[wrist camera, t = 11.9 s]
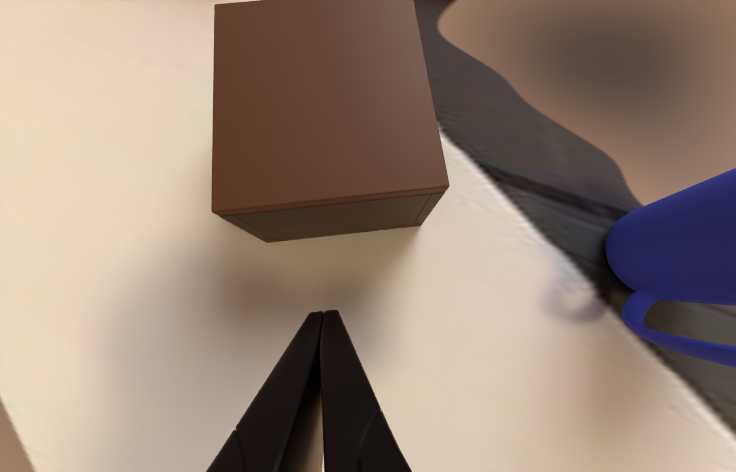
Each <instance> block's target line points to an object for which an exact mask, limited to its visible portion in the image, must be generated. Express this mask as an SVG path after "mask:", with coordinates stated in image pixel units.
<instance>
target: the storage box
mask: <svg viewBox="0 0 736 472" xmlns="http://www.w3.org/2000/svg"><path fill="white" fill-rule="evenodd" d="M444 193H445V192H437V193H428V194H418V195H409V196H400V197H391V198H381V199H372V200H363V201H354V202H344V203H335V204H326V205H317V206H307V207H298V208H289V209H280V210H270V211H261V212H252V213H243V214H233V215H224V216H220V217H221V218H223V219H225V220H227V221H228V222H230V223H232V224H234V225H236V226H238V227H239V228H241V229H243V230H245V231H247V232H248V233H250V234H252V235H254V236H256V237H257V238H259V239H261V240H263V241H265V242H267V243H269V242H278V241H287V240H296V239H305V238H314V237H323V236H332V235H341V234H350V233H359V232H368V231H377V230H386V229H395V228H404V227H413V226H421V225H422V223H423V222H424V220H425V219H426V218H427V216H428V215H429V214H430V212H431V211H432V209H433V208H434V207H435V205H436V204H437V203H438V201H439V200H440V199H441V197H442V196H443V194H444Z"/></svg>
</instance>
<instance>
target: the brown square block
mask: <svg viewBox="0 0 736 472" xmlns="http://www.w3.org/2000/svg"><path fill="white" fill-rule="evenodd" d="M448 187H449V181H448V176H447V171H446V166H445V160H444V155H443V150H442V145H441V140H440V135H439V130H438V125H437V119H436V114H435V109H434V104H433V99H432V94H431V89H430V84H429V78H428V73H427V68H426V63H425V58H424V53H423V48H422V43H421V37H420V32H419V27H418V22H417V17H416V12H415V7H414V1H413V0H260V1H249V2H237V3H226V4H216V5H215V16H214V81H213V146H212V212H213V213H215V214H216V215H218V216H224V215H233V214H243V213H252V212H261V211H270V210H280V209H289V208H298V207H307V206H317V205H326V204H335V203H344V202H354V201H363V200H372V199H381V198H391V197H400V196H409V195H418V194H428V193H437V192H445V191H446V190H447V189H448Z"/></svg>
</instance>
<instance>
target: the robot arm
mask: <svg viewBox="0 0 736 472" xmlns="http://www.w3.org/2000/svg"><path fill="white" fill-rule="evenodd" d="M323 451H324V471H325V472H412V471H411V469H410V467H409V465H408V463H407V462H406V460H405V458H404V456H403V454H402V453H401V451H400V449H399V447H398V445H397V443H396V440H395V438H394V436H393V434H392V432H391V430H390V428H389V426H388V423H387V421H386V419H385V416H384V414H383V412H382V411H381V408H380V405H379V403H378V401H377V398H376V396H375V394H374V392H373V389H372V387H371V385H370V382H369V380H368V378H367V376H366V373H365V371H364V369H363V366H362V364H361V362H360V360H359V357H358V355H357V353H356V350H355V348H354V346H353V344H352V341H351V339H350V337H349V334H348V332H347V330H346V328H345V325H344V323H343V321H342V318H341V316H340V314H339V312H338V310H336V309H335V310H327V311H325V312H323V311H318V312H311V313H310V314H309V315H308V316H307V318H306V319H305V321H304V322H303V324H302V326H301V327H300V329H299V330H298V332H297V333H296V335H295V336H294V338H293V339H292V341H291V343H290V344H289V346H288V347H287V349H286V350H285V352H284V353H283V355H282V356H281V358H280V360H279V361H278V363H277V364H276V366H275V367H274V369H273V370H272V372H271V373H270V375H269V377H268V378H267V380H266V381H265V383H264V384H263V386H262V387H261V389H260V390H259V392H258V394H257V395H256V397H255V398H254V400H253V401H252V403H251V404H250V406H249V407H248V409H247V411H246V412H245V414H244V415H243V417H242V418H241V420H240V421H239V423H238V424H237V426H236V430H234V431H233V432H232V433H231V435H230V437H229V438H228V440H227V441H226V443H225V444H224V446H223V447H222V449H221V450H220V452H219V453H218V455H217V456H216V458H215V459H214V461H213V462H212V464H211V465H210V467H209V468H208V470H207V471H206V472H321V471H322V461H323Z"/></svg>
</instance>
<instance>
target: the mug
mask: <svg viewBox="0 0 736 472" xmlns="http://www.w3.org/2000/svg"><path fill="white" fill-rule="evenodd" d="M605 250H606V256H607V260H608V262H609V265H610V267H611V269H612V270H613V272H614V273H615V274H616V276H617V277H618V278H619V279H620V280H621V281H622V282H623V283H624V284H626V285H627V286H628V287H630V288H631V289H633V290H635V291H636V292H635V293H633V294H632V295H631V296H630V297H629V298H628V300H627V301H626V302H625V304H624V306H623V309H622V319H623V321H624V324H625V325H626V326H627V327H628V328H629V329H630V330H632V331H633V332H634V333H636V334H637V335H639V336H640V337H642V338H644V339H645V340H648V341H650V342H652V343H654V344H656V345H659V346H661V347H664V348H667V349H670V350H673V351H676V352H679V353H683V354H686V355H689V356H693V357H697V358H700V359H704V360H708V361H712V362H716V363H720V364H724V365H728V366H732V367H736V346H729V345H722V344H716V343H710V342H705V341H699V340H694V339H689V338H684V337H679V336H675V335H670V334H666V333H663V332H659V331H655V330H652V329H650V328H647V327H645V326H644V324H643V318H644V315H645V313H646V311H647V310H648V309H649V307H650V306H651V305H652V304H654V303H655V302H657V301H660V300H672V301H684V302H697V303H709V304H722V305H734V306H736V168H735V169H732V170H730V171H727V172H725V173H723V174H720V175H718V176H715V177H713V178H711V179H708V180H706V181H704V182H701V183H699V184H696V185H694V186H692V187H689V188H687V189H684V190H682V191H680V192H677V193H675V194H672V195H670V196H668V197H665V198H663V199H660V200H658V201H656V202H653V203H651V204H648V205H646V206H644V207H641V208H639V209H636V210H634V211H632V212H630V213H628V214H627V215H625V216H623V217H622V218H621V219H619V220H618V221H617V222H616V223H615V224H614V225H613V226H612V228H611V229H610V231H609V233H608V235H607V238H606V244H605Z"/></svg>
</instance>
